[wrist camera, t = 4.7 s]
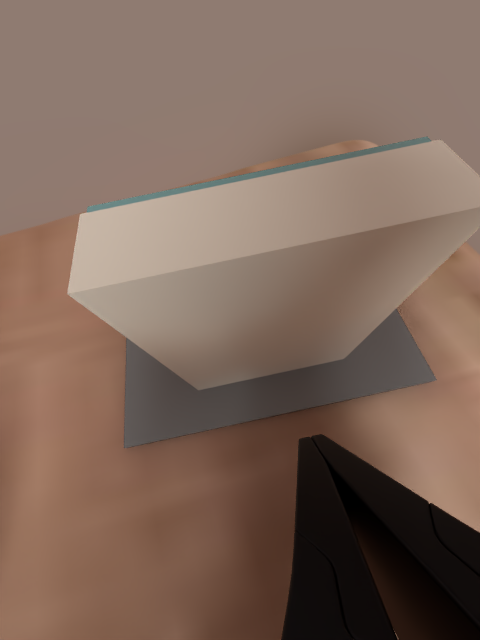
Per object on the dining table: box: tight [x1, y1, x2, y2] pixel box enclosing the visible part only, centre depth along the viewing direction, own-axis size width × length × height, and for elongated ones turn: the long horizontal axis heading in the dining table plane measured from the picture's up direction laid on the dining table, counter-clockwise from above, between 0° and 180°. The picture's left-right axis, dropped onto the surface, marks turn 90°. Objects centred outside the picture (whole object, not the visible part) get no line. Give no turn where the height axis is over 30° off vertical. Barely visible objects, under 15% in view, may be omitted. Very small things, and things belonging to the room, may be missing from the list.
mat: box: [124, 309, 437, 448], centre depth 20 cm, size 20×20×1 cm
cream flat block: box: [67, 137, 480, 390], centre depth 11 cm, size 3×10×12 cm, turn 101°
